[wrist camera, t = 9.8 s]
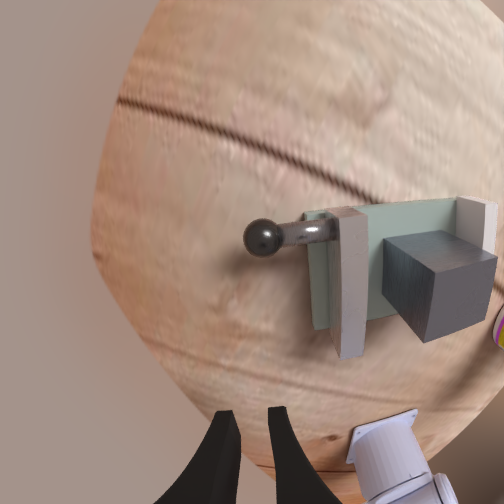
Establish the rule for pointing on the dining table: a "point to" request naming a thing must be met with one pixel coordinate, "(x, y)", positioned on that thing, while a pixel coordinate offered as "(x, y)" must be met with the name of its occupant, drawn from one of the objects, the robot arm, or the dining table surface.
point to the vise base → (396, 224)
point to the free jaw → (339, 266)
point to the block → (437, 282)
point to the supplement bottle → (499, 330)
